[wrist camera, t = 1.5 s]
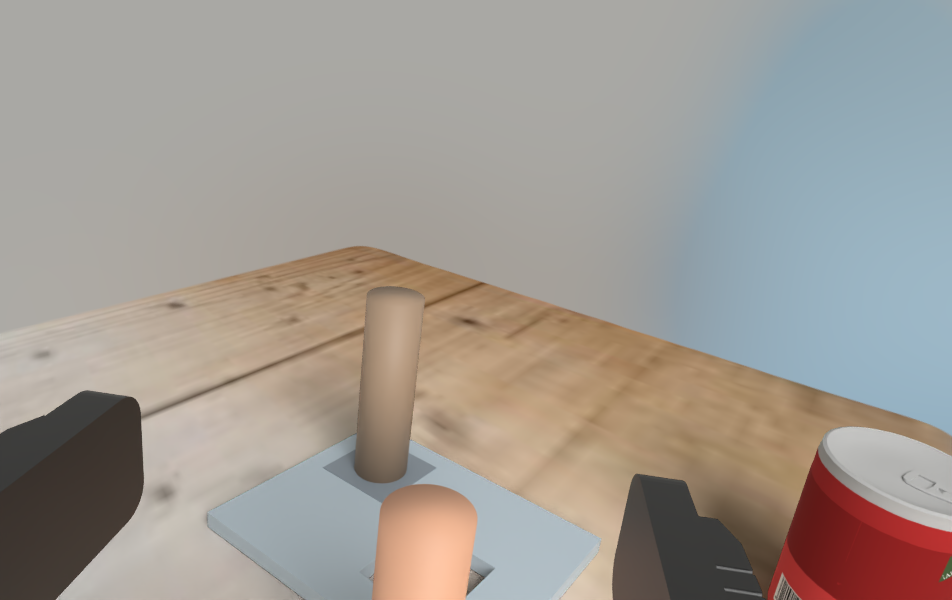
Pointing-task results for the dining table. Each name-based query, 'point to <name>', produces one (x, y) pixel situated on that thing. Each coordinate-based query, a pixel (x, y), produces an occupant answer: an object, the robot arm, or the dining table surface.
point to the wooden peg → (424, 544)
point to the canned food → (870, 522)
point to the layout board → (382, 472)
